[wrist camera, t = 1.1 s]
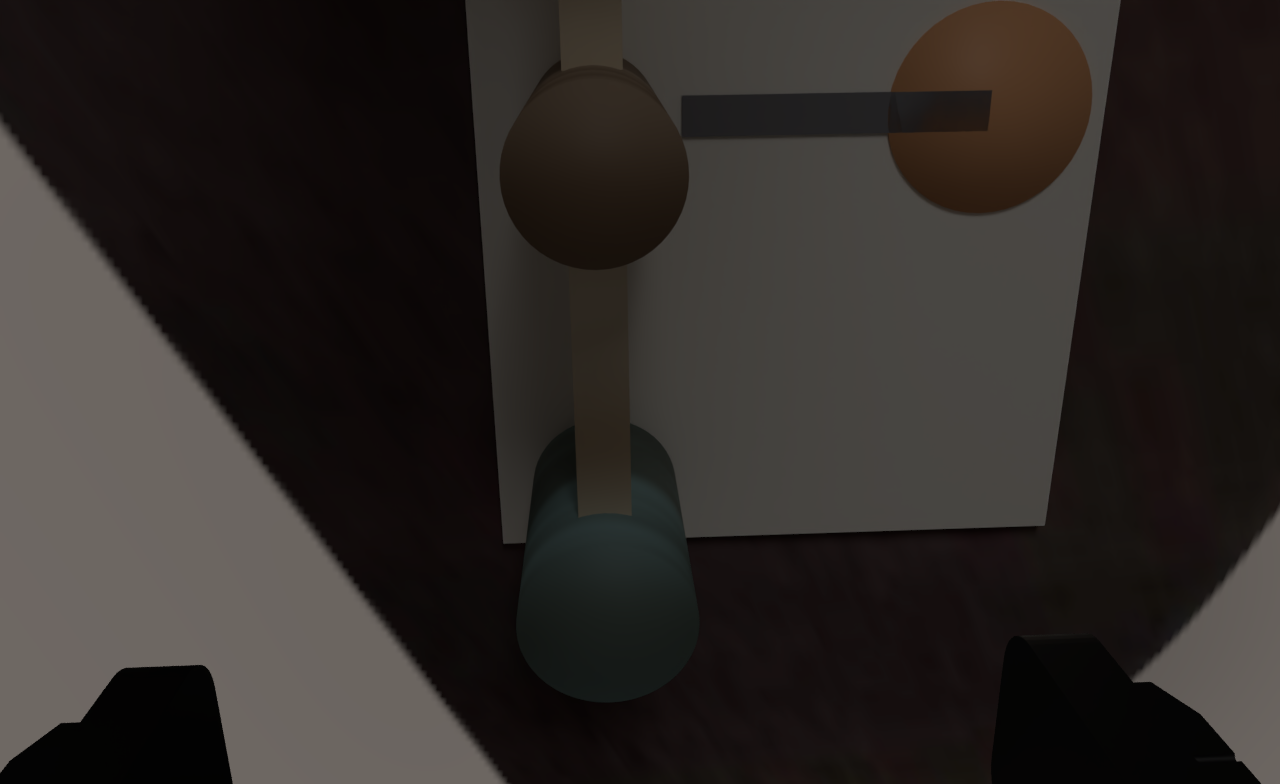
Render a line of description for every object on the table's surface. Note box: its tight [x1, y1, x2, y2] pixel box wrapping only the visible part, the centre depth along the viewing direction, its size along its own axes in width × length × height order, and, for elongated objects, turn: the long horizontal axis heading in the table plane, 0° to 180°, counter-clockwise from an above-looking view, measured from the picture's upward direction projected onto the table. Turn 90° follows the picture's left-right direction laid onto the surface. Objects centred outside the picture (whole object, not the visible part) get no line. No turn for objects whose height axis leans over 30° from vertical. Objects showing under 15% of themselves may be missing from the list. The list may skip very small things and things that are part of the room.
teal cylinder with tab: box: [516, 265, 699, 702], centre depth 25 cm, size 10×4×7 cm, turn 1°
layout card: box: [465, 0, 1121, 544], centre depth 26 cm, size 23×16×1 cm
